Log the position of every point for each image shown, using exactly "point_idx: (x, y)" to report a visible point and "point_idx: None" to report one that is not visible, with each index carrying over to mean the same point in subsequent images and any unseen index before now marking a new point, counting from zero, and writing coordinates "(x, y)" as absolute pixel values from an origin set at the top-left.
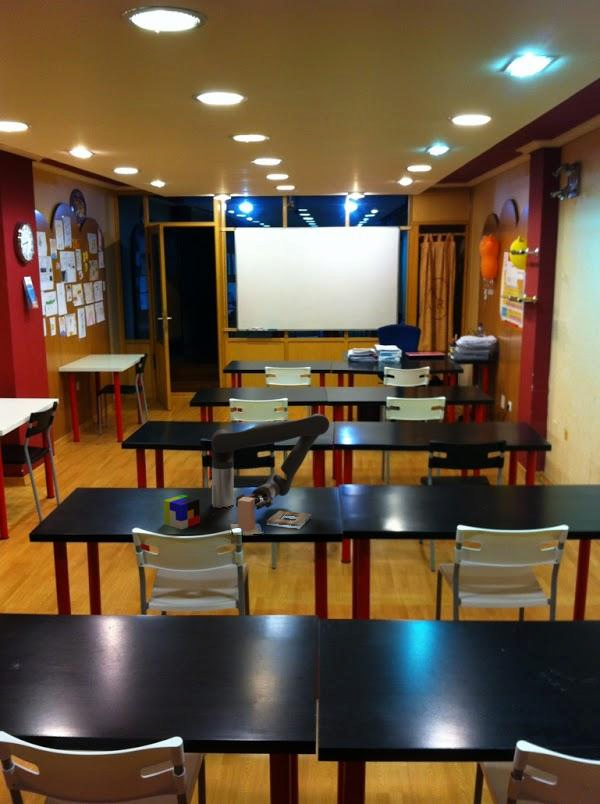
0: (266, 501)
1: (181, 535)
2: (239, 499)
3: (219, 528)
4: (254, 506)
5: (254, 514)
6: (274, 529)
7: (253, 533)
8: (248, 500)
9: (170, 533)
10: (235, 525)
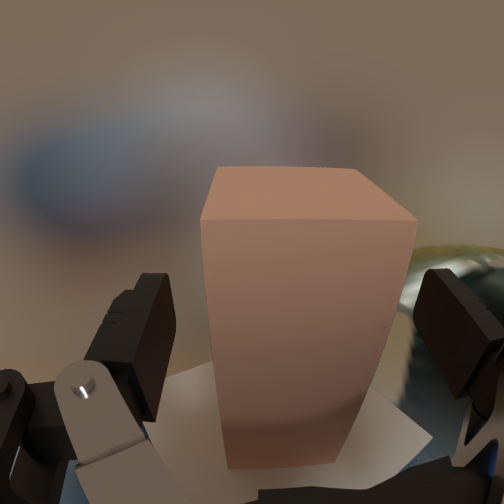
0: (17, 382)
1: (463, 275)
2: (361, 177)
3: (440, 381)
4: (211, 329)
5: (219, 399)
6: (77, 491)
7: (191, 368)
8: (247, 175)
9: (496, 275)
10: (391, 441)
